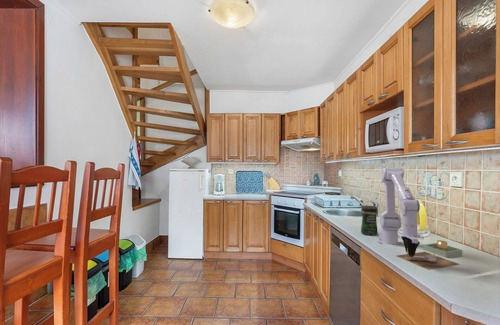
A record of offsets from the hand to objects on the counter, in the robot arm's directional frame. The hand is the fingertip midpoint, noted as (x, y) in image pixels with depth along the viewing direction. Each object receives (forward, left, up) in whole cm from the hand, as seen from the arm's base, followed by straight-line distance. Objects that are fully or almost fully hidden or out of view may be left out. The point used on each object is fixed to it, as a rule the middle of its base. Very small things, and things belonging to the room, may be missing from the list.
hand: (410, 254), depth 110 cm
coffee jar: (-42, +16, -4) cm, 45 cm away
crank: (+3, +4, -2) cm, 5 cm away
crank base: (+2, +7, -4) cm, 8 cm away
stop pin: (-2, +24, -3) cm, 24 cm away
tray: (-3, +24, -4) cm, 24 cm away
